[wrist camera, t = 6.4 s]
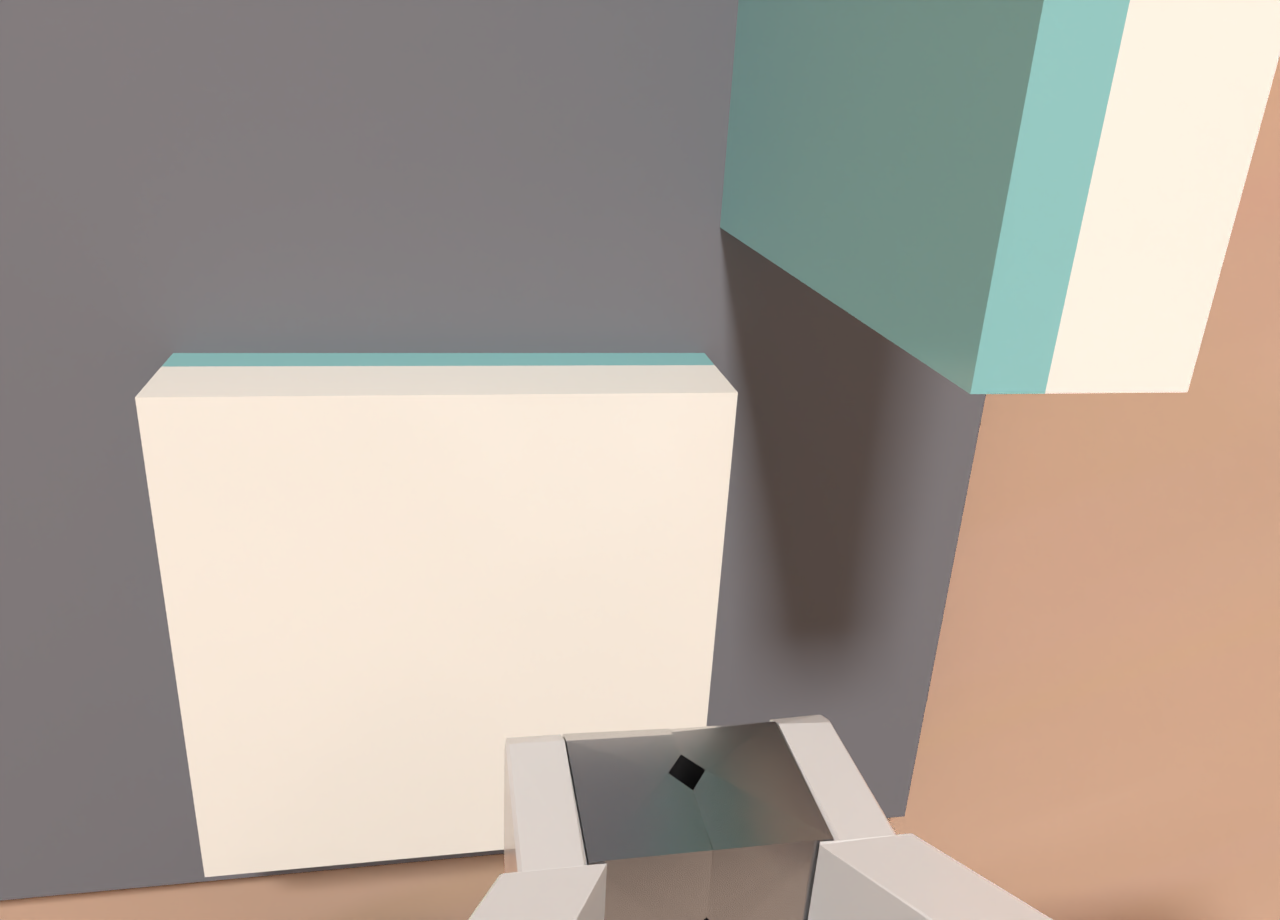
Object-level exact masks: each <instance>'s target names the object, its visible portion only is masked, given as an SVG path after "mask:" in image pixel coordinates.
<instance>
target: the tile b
mask: <svg viewBox="0 0 1280 920" xmlns="http://www.w3.org/2000/svg"><path fill="white" fill-rule="evenodd" d="M1279 56H1280V0H739V1H738V14H737V26H736V38H735V50H734V62H733V75H732V87H731V99H730V111H729V124H728V136H727V148H726V160H725V172H724V185H723V197H722V209H721V221H720V228H722V229H723V230H725V231H726V232H728V233H729V234H731V235H732V236H734V237H735V238H737V239H738V240H740V241H741V242H743V243H744V244H746V245H747V246H749V247H750V248H752V249H753V250H755V251H756V252H758V253H759V254H761V255H762V256H764V257H765V258H767V259H768V260H770V261H771V262H773V263H774V264H776V265H777V266H779V267H780V268H782V269H783V270H785V271H786V272H788V273H789V274H791V275H792V276H794V277H795V278H797V279H798V280H800V281H801V282H803V283H804V284H806V285H807V286H809V287H810V288H812V289H813V290H815V291H816V292H818V293H819V294H821V295H822V296H824V297H825V298H827V299H828V300H830V301H831V302H833V303H834V304H836V305H837V306H839V307H840V308H842V309H843V310H845V311H846V312H848V313H849V314H851V315H852V316H854V317H855V318H857V319H858V320H860V321H861V322H863V323H864V324H866V325H867V326H869V327H870V328H872V329H873V330H875V331H876V332H878V333H879V334H881V335H882V336H884V337H885V338H887V339H888V340H890V341H891V342H893V343H894V344H896V345H897V346H899V347H900V348H902V349H903V350H905V351H906V352H908V353H909V354H911V355H912V356H914V357H915V358H917V359H918V360H920V361H921V362H923V363H924V364H926V365H927V366H929V367H930V368H932V369H933V370H935V371H936V372H938V373H939V374H941V375H942V376H944V377H945V378H947V379H948V380H950V381H951V382H953V383H954V384H956V385H957V386H959V387H960V388H962V389H963V390H965V391H966V392H968V393H969V394H1049V393H1164V392H1188V389H1189V385H1190V382H1191V378H1192V374H1193V371H1194V367H1195V363H1196V360H1197V356H1198V352H1199V349H1200V345H1201V341H1202V338H1203V334H1204V330H1205V327H1206V323H1207V319H1208V316H1209V312H1210V308H1211V305H1212V301H1213V297H1214V294H1215V290H1216V286H1217V283H1218V279H1219V275H1220V272H1221V268H1222V264H1223V261H1224V257H1225V253H1226V250H1227V246H1228V242H1229V239H1230V235H1231V231H1232V228H1233V224H1234V220H1235V217H1236V213H1237V209H1238V206H1239V202H1240V199H1241V195H1242V191H1243V188H1244V184H1245V180H1246V177H1247V173H1248V169H1249V166H1250V162H1251V158H1252V155H1253V151H1254V147H1255V144H1256V140H1257V136H1258V133H1259V129H1260V125H1261V122H1262V118H1263V114H1264V111H1265V107H1266V103H1267V100H1268V96H1269V92H1270V89H1271V85H1272V81H1273V78H1274V74H1275V70H1276V67H1277V63H1278V59H1279Z"/></svg>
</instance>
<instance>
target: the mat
mask: <svg viewBox="0 0 1280 920" xmlns="http://www.w3.org/2000/svg"><path fill="white" fill-rule="evenodd" d="M738 1H739V0H0V900H11V899H22V898H32V897H43V896H54V895H65V894H75V893H86V892H97V891H108V890H118V889H129V888H140V887H150V886H161V885H172V884H183V883H193V882H204V881H215V880H225V879H236V878H247V877H258V876H268V875H279V874H290V873H301V872H311V871H322V870H333V869H343V868H354V867H365V866H376V865H386V864H397V863H408V862H418V861H429V860H440V859H451V858H461V857H472V856H483V855H494V854H504V850H494V851H483V852H472V853H462V854H451V855H440V856H429V857H418V858H408V859H397V860H386V861H375V862H364V863H353V864H343V865H332V866H321V867H310V868H299V869H289V870H278V871H267V872H256V873H245V874H235V875H224V876H213V877H205V875H204V868H203V862H202V855H201V848H200V841H199V834H198V827H197V820H196V814H195V807H194V800H193V793H192V786H191V779H190V772H189V765H188V759H187V752H186V745H185V738H184V731H183V724H182V717H181V711H180V704H179V697H178V690H177V683H176V676H175V669H174V662H173V656H172V649H171V642H170V635H169V628H168V621H167V614H166V607H165V601H164V594H163V587H162V580H161V573H160V566H159V559H158V553H157V546H156V539H155V532H154V525H153V518H152V511H151V504H150V498H149V491H148V484H147V477H146V470H145V463H144V456H143V450H142V443H141V436H140V429H139V422H138V415H137V408H136V401H135V397H136V396H137V394H138V393H139V392H140V391H141V390H142V389H143V387H144V386H145V385H146V384H147V383H148V382H149V380H150V379H151V378H152V377H153V376H154V375H155V373H156V372H157V371H158V370H159V369H160V368H161V366H162V365H163V364H164V363H165V362H166V361H167V360H168V358H169V357H170V356H171V355H172V354H173V353H705V354H706V355H707V357H708V358H709V359H710V360H711V361H712V363H713V364H714V365H715V366H716V367H717V368H718V370H719V371H720V372H721V373H722V374H723V376H724V377H725V378H726V379H727V380H728V381H729V383H730V384H731V385H732V386H733V387H734V389H735V390H736V391H737V392H738V397H737V407H736V418H735V428H734V439H733V450H732V460H731V471H730V481H729V492H728V503H727V513H726V524H725V534H724V545H723V556H722V566H721V577H720V587H719V598H718V609H717V619H716V630H715V640H714V651H713V662H712V672H711V683H710V693H709V704H708V715H707V725H706V726H717V725H730V724H743V723H755V722H769V721H770V720H771V719H781V718H791V717H801V716H811V715H822V716H824V717H825V718H827V719H828V720H829V721H830V722H831V724H832V726H833V727H834V729H835V731H836V733H837V734H838V736H839V738H840V739H841V741H842V743H843V745H844V746H845V748H846V750H847V751H848V753H849V755H850V756H851V758H852V760H853V762H854V763H855V765H856V767H857V768H858V770H859V772H860V773H861V775H862V777H863V779H864V780H865V782H866V784H867V785H868V787H869V789H870V790H871V792H872V794H873V796H874V797H875V799H876V801H877V802H878V804H879V806H880V808H881V809H882V811H883V813H884V814H885V816H886V818H890V817H901V816H905V810H906V805H907V800H908V795H909V790H910V784H911V779H912V774H913V769H914V764H915V759H916V753H917V748H918V743H919V738H920V733H921V727H922V722H923V717H924V712H925V707H926V702H927V696H928V691H929V686H930V681H931V676H932V671H933V665H934V660H935V655H936V650H937V645H938V639H939V634H940V629H941V624H942V619H943V614H944V608H945V603H946V598H947V593H948V588H949V582H950V577H951V572H952V567H953V562H954V557H955V551H956V546H957V541H958V536H959V531H960V525H961V520H962V515H963V510H964V505H965V500H966V494H967V489H968V484H969V479H970V474H971V469H972V463H973V458H974V453H975V448H976V443H977V437H978V432H979V427H980V422H981V417H982V412H983V406H984V401H985V396H986V394H969V393H968V392H966V391H965V390H963V389H962V388H960V387H959V386H957V385H956V384H954V383H953V382H951V381H950V380H948V379H947V378H945V377H944V376H942V375H941V374H939V373H938V372H936V371H935V370H933V369H932V368H930V367H929V366H927V365H926V364H924V363H923V362H921V361H920V360H918V359H917V358H915V357H914V356H912V355H911V354H909V353H908V352H906V351H905V350H903V349H902V348H900V347H899V346H897V345H896V344H894V343H893V342H891V341H890V340H888V339H887V338H885V337H884V336H882V335H881V334H879V333H878V332H876V331H875V330H873V329H872V328H870V327H869V326H867V325H866V324H864V323H863V322H861V321H860V320H858V319H857V318H855V317H854V316H852V315H851V314H849V313H848V312H846V311H845V310H843V309H842V308H840V307H839V306H837V305H836V304H834V303H833V302H831V301H830V300H828V299H827V298H825V297H824V296H822V295H821V294H819V293H818V292H816V291H815V290H813V289H812V288H810V287H809V286H807V285H806V284H804V283H803V282H801V281H800V280H798V279H797V278H795V277H794V276H792V275H791V274H789V273H788V272H786V271H785V270H783V269H782V268H780V267H779V266H777V265H776V264H774V263H773V262H771V261H770V260H768V259H767V258H765V257H764V256H762V255H761V254H759V253H758V252H756V251H755V250H753V249H752V248H750V247H749V246H747V245H746V244H744V243H743V242H741V241H740V240H738V239H737V238H735V237H734V236H732V235H731V234H729V233H728V232H726V231H725V230H723V229H722V228H720V221H721V209H722V197H723V185H724V172H725V160H726V148H727V136H728V124H729V111H730V99H731V87H732V75H733V62H734V50H735V38H736V26H737V14H738Z"/></svg>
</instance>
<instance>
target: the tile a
mask: <svg viewBox="0 0 1280 920" xmlns="http://www.w3.org/2000/svg"><path fill="white" fill-rule="evenodd" d="M737 397H738V392H737V391H736V390H735V389H734V387H733V386H732V385H731V384H730V383H729V381H728V380H727V379H726V378H725V377H724V376H723V374H722V373H721V372H720V371H719V370H718V368H717V367H716V366H715V365H714V364H713V363H712V361H711V360H710V359H709V358H708V357H707V355H706V354H705V353H173V354H172V355H171V356H170V357H169V358H168V360H167V361H166V362H165V363H164V364H163V365H162V366H161V368H160V369H159V370H158V371H157V372H156V373H155V375H154V376H153V377H152V378H151V379H150V380H149V382H148V383H147V384H146V385H145V386H144V387H143V389H142V390H141V391H140V392H139V393H138V394H137V396H136V397H135V401H136V408H137V415H138V422H139V429H140V436H141V443H142V450H143V456H144V463H145V470H146V477H147V484H148V491H149V498H150V504H151V511H152V518H153V525H154V532H155V539H156V546H157V553H158V559H159V566H160V573H161V580H162V587H163V594H164V601H165V607H166V614H167V621H168V628H169V635H170V642H171V649H172V656H173V662H174V669H175V676H176V683H177V690H178V697H179V704H180V711H181V717H182V724H183V731H184V738H185V745H186V752H187V759H188V765H189V772H190V779H191V786H192V793H193V800H194V807H195V814H196V820H197V827H198V834H199V841H200V848H201V855H202V862H203V868H204V875H205V877H213V876H224V875H235V874H245V873H256V872H267V871H278V870H289V869H299V868H310V867H321V866H332V865H343V864H353V863H364V862H375V861H386V860H397V859H408V858H418V857H429V856H440V855H451V854H462V853H472V852H483V851H494V850H504V749H505V743H506V738H512V737H527V736H543V735H559V734H560V735H561V737H562V735H563V734H571V733H591V732H611V731H631V730H650V729H679V728H691V727H704V726H706V725H707V715H708V704H709V693H710V683H711V672H712V662H713V651H714V640H715V630H716V619H717V609H718V598H719V587H720V577H721V566H722V556H723V545H724V534H725V524H726V513H727V503H728V492H729V481H730V471H731V460H732V450H733V439H734V428H735V418H736V407H737Z"/></svg>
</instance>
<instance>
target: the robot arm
mask: <svg viewBox="0 0 1280 920" xmlns="http://www.w3.org/2000/svg"><path fill="white" fill-rule="evenodd" d="M504 869H505V873H504V874H500V875H499V876H498V878H497V879H496V881H495V882H494V884H493V885H492V886H491V888H490V889H489V891H488V892H487V894H486V895H485V896H484V898H483V899H482V901H481V902H480V903H479V905H478V906H477V908H476V909H475V911H474V912H473V913H472V915H471V916H470V918H469V919H468V920H1053V919H1051V918H1049V917H1048V916H1046V915H1045V914H1043V913H1041V912H1040V911H1038V910H1036V909H1035V908H1033V907H1031V906H1030V905H1028V904H1027V903H1025V902H1023V901H1022V900H1020V899H1018V898H1017V897H1015V896H1013V895H1012V894H1010V893H1009V892H1007V891H1005V890H1004V889H1002V888H1000V887H999V886H997V885H995V884H994V883H992V882H991V881H989V880H987V879H986V878H984V877H982V876H981V875H979V874H977V873H976V872H974V871H973V870H971V869H969V868H968V867H966V866H964V865H963V864H961V863H959V862H958V861H956V860H954V859H953V858H951V857H950V856H948V855H946V854H945V853H943V852H941V851H940V850H938V849H936V848H935V847H933V846H932V845H930V844H928V843H927V842H925V841H923V840H922V839H920V838H918V837H917V836H915V835H914V834H901V835H896V833H895V831H894V830H893V828H892V826H891V825H890V823H889V821H888V819H887V818H886V816H885V814H884V813H883V811H882V809H881V808H880V806H879V804H878V802H877V801H876V799H875V797H874V796H873V794H872V792H871V790H870V789H869V787H868V785H867V784H866V782H865V780H864V779H863V777H862V775H861V773H860V772H859V770H858V768H857V767H856V765H855V763H854V762H853V760H852V758H851V756H850V755H849V753H848V751H847V750H846V748H845V746H844V745H843V743H842V741H841V739H840V738H839V736H838V734H837V733H836V731H835V729H834V727H833V726H832V724H831V722H830V721H829V720H828V719H827V718H825V717H824V716H822V715H811V716H801V717H791V718H781V719H771V720H770V721H769V722H755V723H743V724H730V725H717V726H704V727H691V728H679V729H650V730H631V731H611V732H591V733H571V734H563V735H562V737H561V735H560V734H559V735H543V736H527V737H512V738H506V743H505V749H504Z"/></svg>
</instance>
